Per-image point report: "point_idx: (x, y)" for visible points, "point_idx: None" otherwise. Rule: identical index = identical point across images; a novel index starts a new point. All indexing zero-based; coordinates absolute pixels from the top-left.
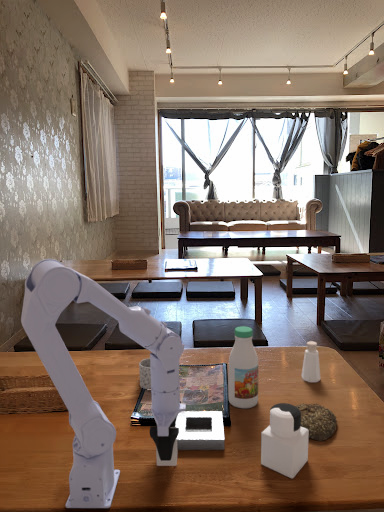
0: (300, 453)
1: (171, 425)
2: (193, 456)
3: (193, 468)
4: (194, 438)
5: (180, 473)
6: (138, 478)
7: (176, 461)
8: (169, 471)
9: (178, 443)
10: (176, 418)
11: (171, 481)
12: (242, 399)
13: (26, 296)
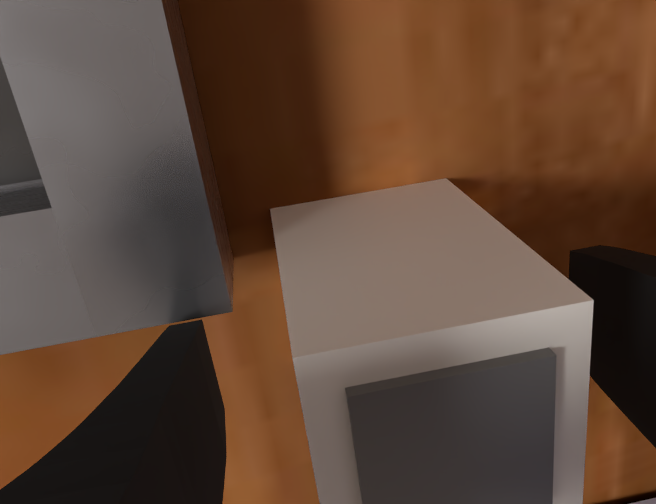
0: None
1: (187, 431)
2: (295, 37)
3: (475, 6)
4: (152, 54)
5: (542, 120)
6: (588, 403)
7: (436, 189)
8: (518, 218)
9: (222, 234)
10: (144, 448)
11: (632, 173)
12: None
13: None
